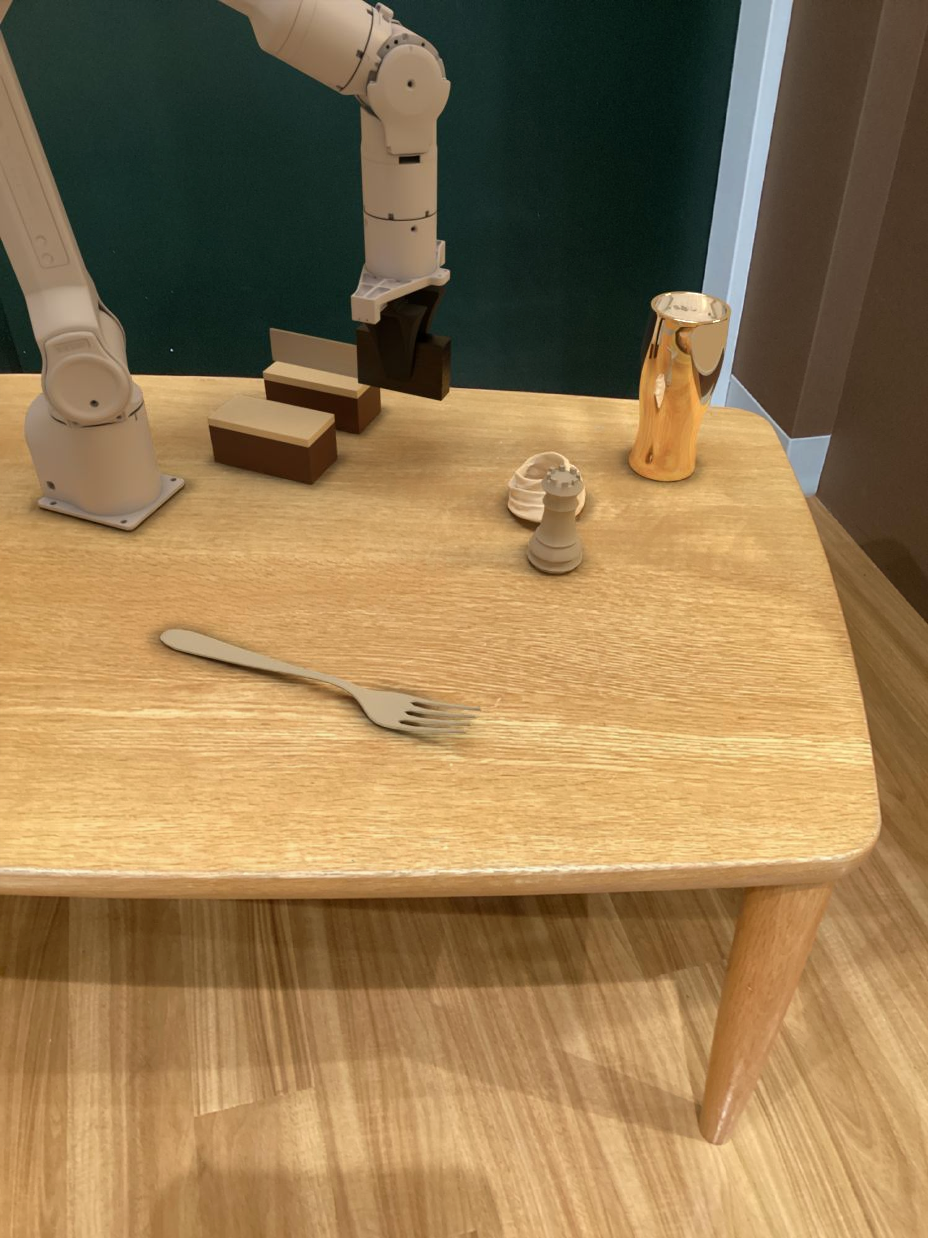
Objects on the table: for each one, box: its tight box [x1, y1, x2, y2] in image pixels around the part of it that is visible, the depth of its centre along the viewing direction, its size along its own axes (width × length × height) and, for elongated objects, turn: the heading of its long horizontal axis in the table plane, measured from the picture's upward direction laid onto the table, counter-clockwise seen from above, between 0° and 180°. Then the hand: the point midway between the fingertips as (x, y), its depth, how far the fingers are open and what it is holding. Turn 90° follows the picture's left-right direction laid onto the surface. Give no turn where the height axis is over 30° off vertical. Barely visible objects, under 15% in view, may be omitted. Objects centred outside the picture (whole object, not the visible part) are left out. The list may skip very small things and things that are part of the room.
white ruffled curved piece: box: [506, 451, 587, 523], centre depth 78 cm, size 8×7×5 cm
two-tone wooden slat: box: [269, 322, 452, 402], centre depth 81 cm, size 17×2×5 cm, turn 69°
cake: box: [206, 393, 338, 485], centre depth 83 cm, size 10×5×4 cm, turn 69°
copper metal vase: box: [628, 290, 732, 482], centre depth 81 cm, size 7×7×15 cm
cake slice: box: [262, 361, 382, 434], centre depth 90 cm, size 10×5×4 cm, turn 69°
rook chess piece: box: [526, 465, 585, 575], centre depth 71 cm, size 4×4×8 cm
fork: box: [159, 628, 484, 735], centre depth 62 cm, size 3×24×2 cm, turn 67°
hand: (403, 372), depth 80 cm, fingers closed on two-tone wooden slat, 2 cm apart
